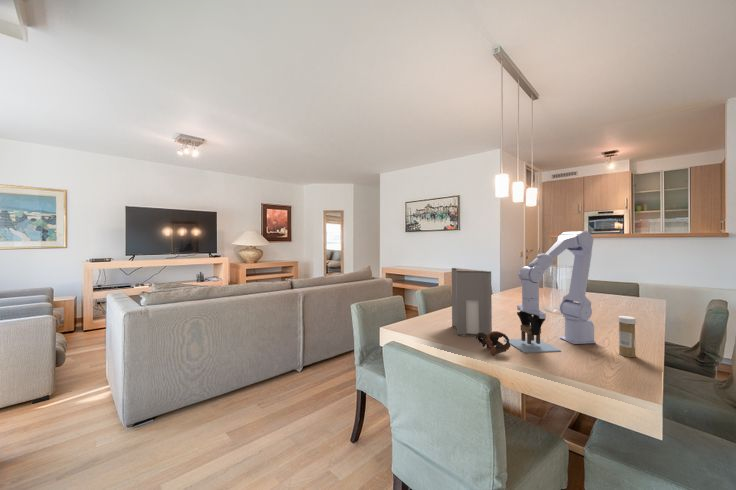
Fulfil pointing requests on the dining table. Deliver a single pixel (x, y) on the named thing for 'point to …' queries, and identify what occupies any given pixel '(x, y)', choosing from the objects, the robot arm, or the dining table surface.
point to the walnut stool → (529, 334)
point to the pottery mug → (493, 342)
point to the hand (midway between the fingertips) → (530, 332)
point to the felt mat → (532, 346)
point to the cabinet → (471, 302)
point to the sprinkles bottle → (627, 336)
